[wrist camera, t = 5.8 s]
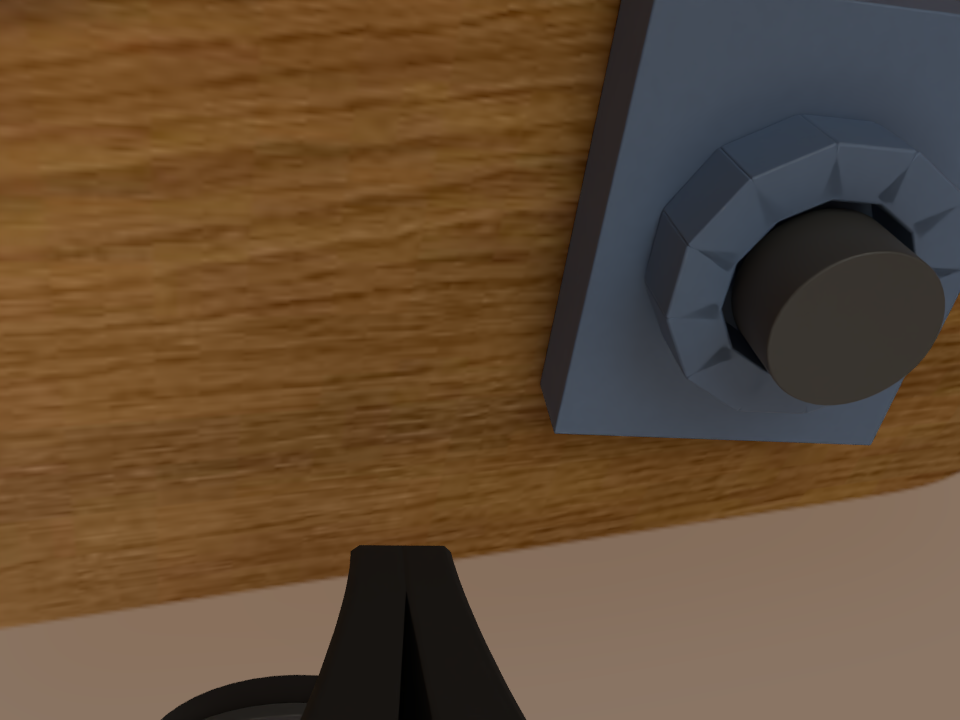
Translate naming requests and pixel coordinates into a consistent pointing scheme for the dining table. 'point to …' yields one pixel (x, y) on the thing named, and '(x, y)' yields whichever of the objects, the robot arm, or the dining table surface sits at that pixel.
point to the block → (743, 200)
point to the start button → (836, 306)
